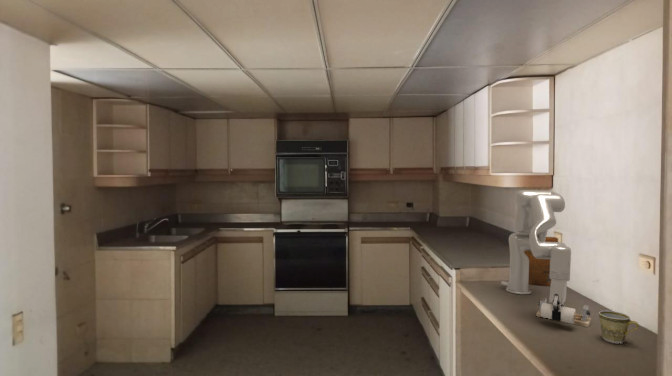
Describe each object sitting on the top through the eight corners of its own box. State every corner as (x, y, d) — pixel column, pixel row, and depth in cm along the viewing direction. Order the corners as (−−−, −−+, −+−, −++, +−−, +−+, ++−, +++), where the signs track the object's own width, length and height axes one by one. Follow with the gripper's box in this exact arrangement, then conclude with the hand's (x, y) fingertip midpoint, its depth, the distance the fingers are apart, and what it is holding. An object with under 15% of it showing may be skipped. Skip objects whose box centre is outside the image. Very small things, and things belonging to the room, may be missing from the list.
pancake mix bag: (557, 287, 238) (559, 238, 237) (520, 284, 244) (522, 235, 243) (555, 284, 244) (557, 236, 243) (519, 281, 250) (520, 234, 249)
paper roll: (540, 318, 179) (540, 304, 179) (543, 314, 184) (544, 301, 184) (572, 325, 172) (573, 311, 172) (575, 321, 177) (575, 307, 176)
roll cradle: (536, 316, 190) (536, 301, 189) (540, 311, 197) (541, 296, 196) (588, 327, 177) (588, 310, 177) (591, 321, 185) (591, 305, 184)
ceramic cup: (593, 339, 165) (594, 313, 164) (604, 333, 171) (605, 308, 170) (632, 350, 154) (633, 323, 154) (642, 344, 160) (643, 318, 160)
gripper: (553, 270, 186) (552, 310, 187) (545, 278, 172) (543, 322, 173) (573, 272, 181) (571, 314, 183) (566, 281, 168) (563, 326, 169)
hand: (557, 317), depth 178 cm, fingers closed on paper roll, 6 cm apart
